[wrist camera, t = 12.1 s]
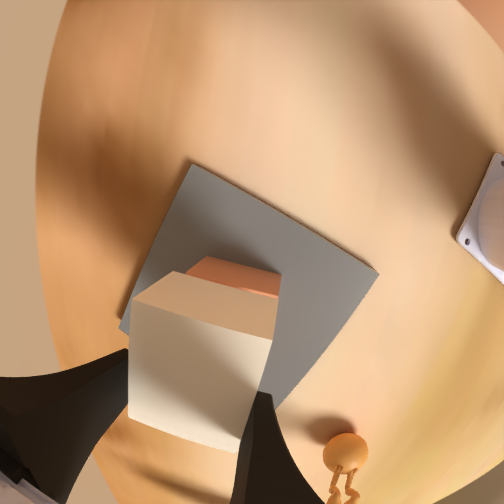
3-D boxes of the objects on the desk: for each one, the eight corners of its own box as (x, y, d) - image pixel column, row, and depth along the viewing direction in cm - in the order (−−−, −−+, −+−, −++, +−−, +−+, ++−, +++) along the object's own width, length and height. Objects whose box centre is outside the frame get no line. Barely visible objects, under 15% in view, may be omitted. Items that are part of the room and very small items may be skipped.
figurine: (391, 432, 22) (418, 535, 10) (357, 468, 24) (368, 563, 12) (313, 414, 23) (314, 535, 11) (284, 453, 24) (272, 559, 12)
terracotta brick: (281, 274, 19) (278, 296, 16) (260, 353, 21) (253, 386, 17) (206, 255, 20) (186, 272, 16) (193, 334, 21) (173, 362, 17)
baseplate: (375, 270, 19) (379, 274, 19) (270, 408, 23) (269, 415, 22) (196, 164, 20) (192, 163, 19) (124, 323, 23) (118, 328, 22)
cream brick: (278, 299, 13) (272, 340, 10) (249, 400, 15) (236, 453, 11) (173, 271, 14) (131, 298, 10) (160, 373, 15) (128, 417, 11)
